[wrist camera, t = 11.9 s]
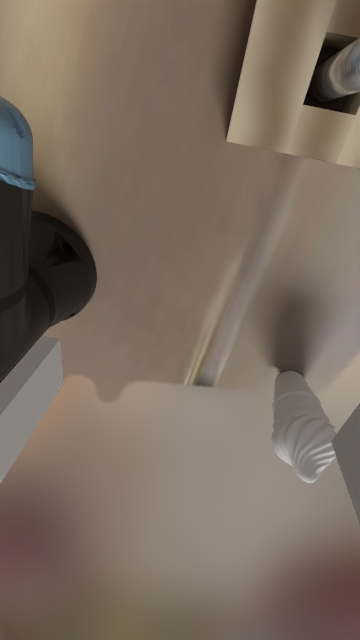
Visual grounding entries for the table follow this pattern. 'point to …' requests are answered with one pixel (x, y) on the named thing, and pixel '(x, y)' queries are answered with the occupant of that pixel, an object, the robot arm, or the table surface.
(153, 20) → the table surface
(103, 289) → the table surface
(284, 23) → the block
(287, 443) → the soft serve ice cream cone
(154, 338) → the table surface
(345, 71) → the peg
